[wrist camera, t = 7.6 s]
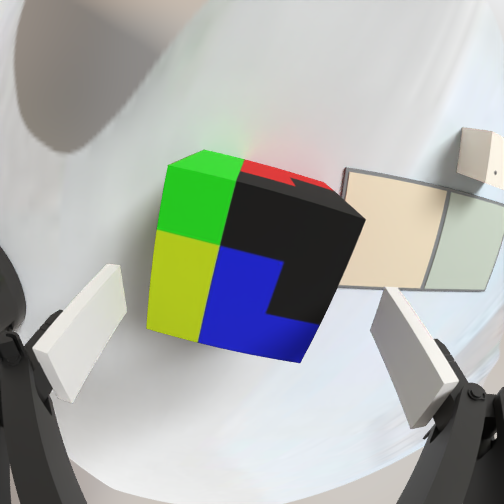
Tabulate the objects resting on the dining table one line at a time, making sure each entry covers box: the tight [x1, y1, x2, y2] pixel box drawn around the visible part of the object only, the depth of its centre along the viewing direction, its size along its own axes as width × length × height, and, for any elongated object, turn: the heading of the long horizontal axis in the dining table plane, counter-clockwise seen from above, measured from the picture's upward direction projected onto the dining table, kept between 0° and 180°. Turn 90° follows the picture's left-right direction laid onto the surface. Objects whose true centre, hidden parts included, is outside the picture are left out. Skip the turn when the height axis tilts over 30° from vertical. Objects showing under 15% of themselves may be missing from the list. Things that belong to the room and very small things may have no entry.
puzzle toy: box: [146, 150, 366, 363], centre depth 20 cm, size 10×10×10 cm
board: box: [338, 168, 504, 291], centre depth 25 cm, size 22×11×1 cm, turn 86°
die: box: [456, 127, 504, 190], centre depth 19 cm, size 5×5×5 cm
